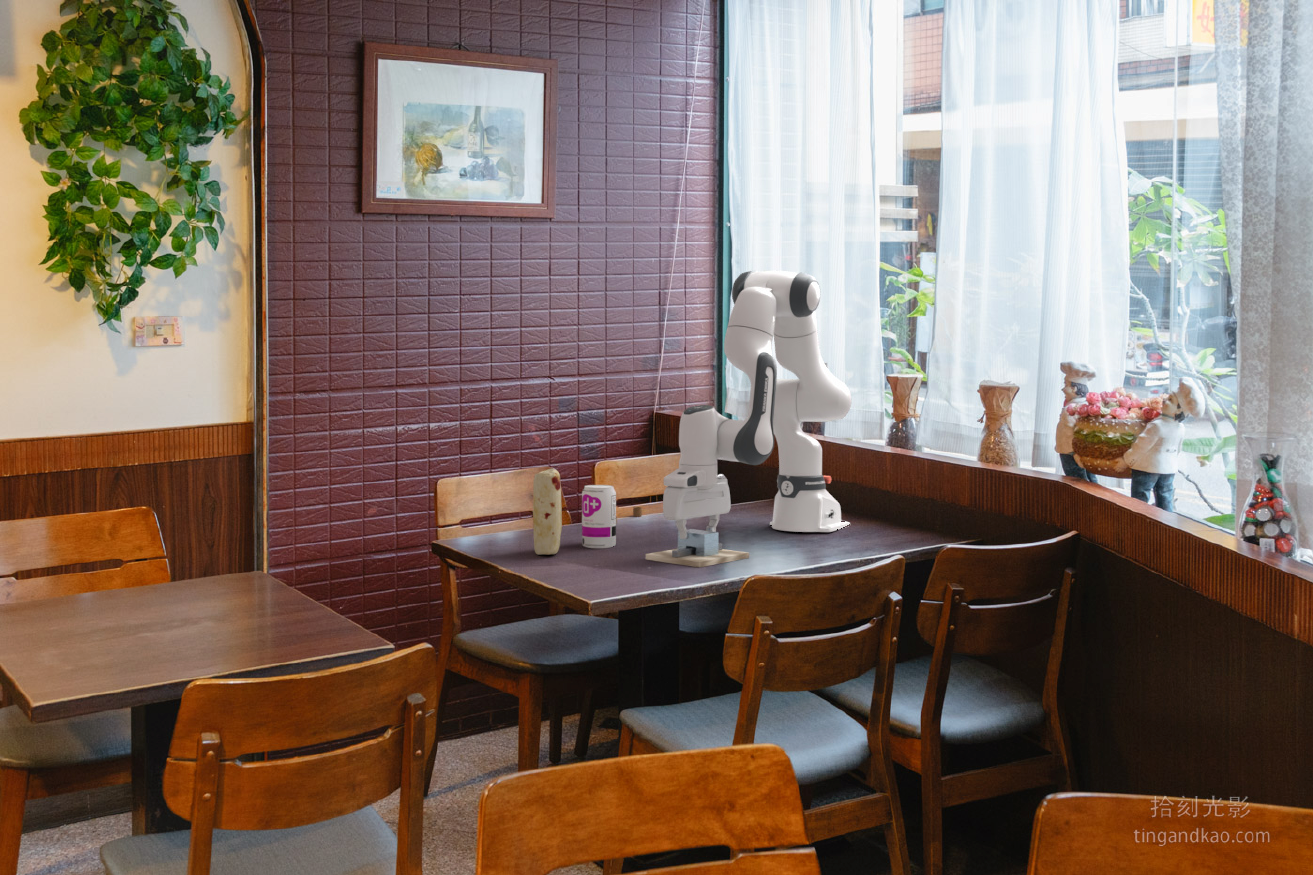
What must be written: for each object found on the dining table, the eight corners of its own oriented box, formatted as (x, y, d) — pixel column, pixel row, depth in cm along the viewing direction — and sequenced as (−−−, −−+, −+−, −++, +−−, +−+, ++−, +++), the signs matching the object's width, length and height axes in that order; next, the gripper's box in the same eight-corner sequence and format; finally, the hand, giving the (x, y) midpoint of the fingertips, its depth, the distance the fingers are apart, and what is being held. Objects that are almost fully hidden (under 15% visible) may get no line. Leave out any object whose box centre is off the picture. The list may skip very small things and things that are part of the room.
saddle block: (691, 550, 279) (691, 529, 279) (718, 554, 274) (718, 532, 274) (677, 552, 276) (677, 531, 275) (704, 556, 270) (704, 534, 270)
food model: (564, 556, 277) (564, 470, 276) (535, 557, 275) (535, 471, 274) (559, 550, 286) (559, 467, 285) (531, 551, 285) (531, 467, 284)
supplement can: (599, 551, 285) (599, 488, 284) (575, 547, 290) (575, 486, 289) (622, 547, 291) (622, 486, 290) (598, 544, 296) (598, 483, 295)
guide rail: (717, 549, 281) (717, 542, 281) (722, 549, 280) (722, 543, 280) (672, 557, 269) (672, 550, 269) (677, 557, 268) (677, 551, 268)
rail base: (696, 550, 287) (696, 545, 287) (749, 557, 276) (749, 552, 276) (645, 559, 274) (645, 554, 273) (699, 567, 263) (699, 562, 263)
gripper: (716, 472, 284) (715, 530, 285) (658, 478, 268) (658, 539, 269) (737, 474, 279) (736, 533, 280) (679, 480, 264) (679, 542, 265)
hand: (697, 536), depth 275 cm, fingers open, 8 cm apart
